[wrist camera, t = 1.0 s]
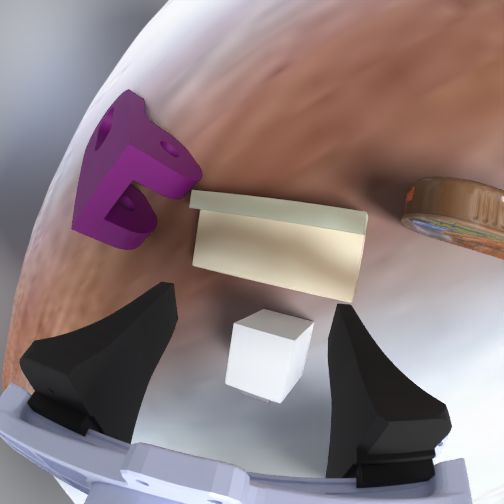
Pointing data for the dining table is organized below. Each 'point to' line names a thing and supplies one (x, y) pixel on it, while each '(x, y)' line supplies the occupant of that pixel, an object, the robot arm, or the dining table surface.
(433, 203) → the tin
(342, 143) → the dining table surface
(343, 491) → the robot arm
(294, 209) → the rail
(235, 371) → the white block
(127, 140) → the mounting bracket
